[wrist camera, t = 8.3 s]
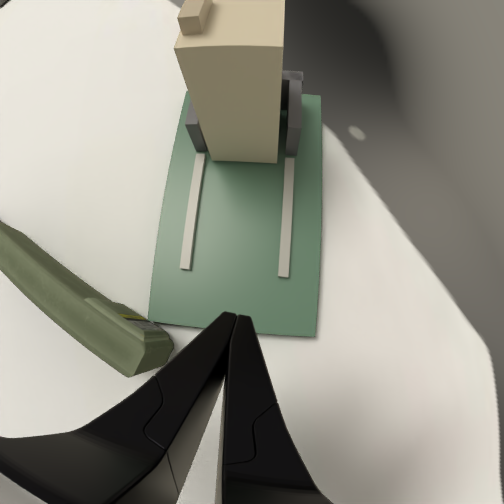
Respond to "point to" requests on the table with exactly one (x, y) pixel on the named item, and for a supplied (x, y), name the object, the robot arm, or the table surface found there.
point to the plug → (234, 74)
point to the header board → (243, 227)
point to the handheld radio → (83, 308)
